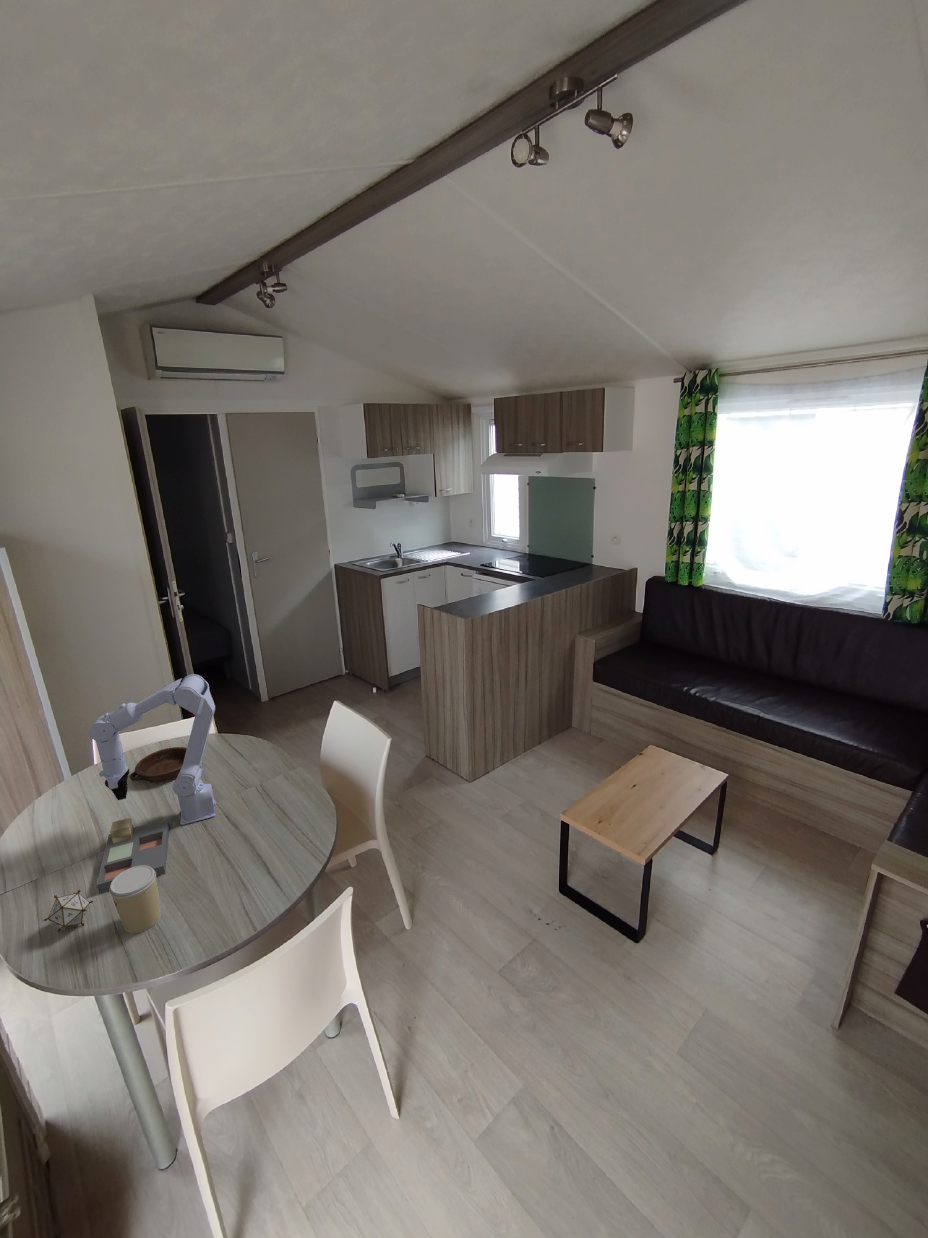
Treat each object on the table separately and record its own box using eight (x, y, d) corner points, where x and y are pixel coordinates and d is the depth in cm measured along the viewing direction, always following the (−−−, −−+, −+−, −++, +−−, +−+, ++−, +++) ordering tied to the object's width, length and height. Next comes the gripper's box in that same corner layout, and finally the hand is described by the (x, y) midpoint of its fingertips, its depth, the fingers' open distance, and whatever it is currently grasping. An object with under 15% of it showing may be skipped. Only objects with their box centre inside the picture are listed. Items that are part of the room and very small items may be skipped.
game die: (78, 941, 132) (61, 935, 124) (47, 926, 132) (28, 919, 124) (106, 902, 137) (91, 894, 129) (75, 888, 138) (59, 879, 130)
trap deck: (169, 826, 165) (167, 819, 164) (165, 873, 147) (163, 865, 146) (110, 841, 159) (108, 834, 159) (98, 893, 141) (96, 885, 140)
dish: (130, 770, 194) (127, 758, 193) (199, 751, 205) (196, 739, 204) (132, 796, 180) (129, 783, 179) (206, 774, 191) (203, 761, 189)
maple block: (133, 829, 160) (130, 817, 159) (131, 839, 156) (128, 827, 155) (115, 834, 159) (112, 822, 157) (113, 844, 155) (110, 831, 153)
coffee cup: (131, 906, 137) (121, 866, 133) (171, 902, 137) (161, 862, 134) (112, 938, 128) (100, 896, 124) (154, 935, 128) (144, 892, 125)
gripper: (99, 747, 164) (110, 787, 168) (91, 772, 152) (102, 815, 156) (127, 741, 167) (136, 781, 171) (121, 766, 154) (131, 808, 158)
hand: (122, 797), depth 164 cm, fingers closed
